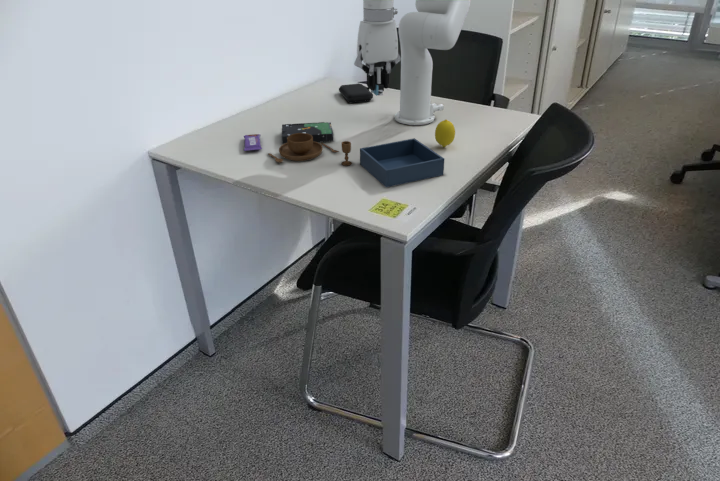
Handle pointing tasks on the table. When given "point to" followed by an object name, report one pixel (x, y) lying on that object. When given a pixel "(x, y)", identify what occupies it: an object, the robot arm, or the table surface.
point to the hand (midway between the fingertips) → (377, 87)
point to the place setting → (307, 149)
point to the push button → (378, 78)
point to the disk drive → (309, 131)
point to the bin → (401, 162)
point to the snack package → (252, 142)
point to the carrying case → (355, 93)
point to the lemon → (445, 133)
